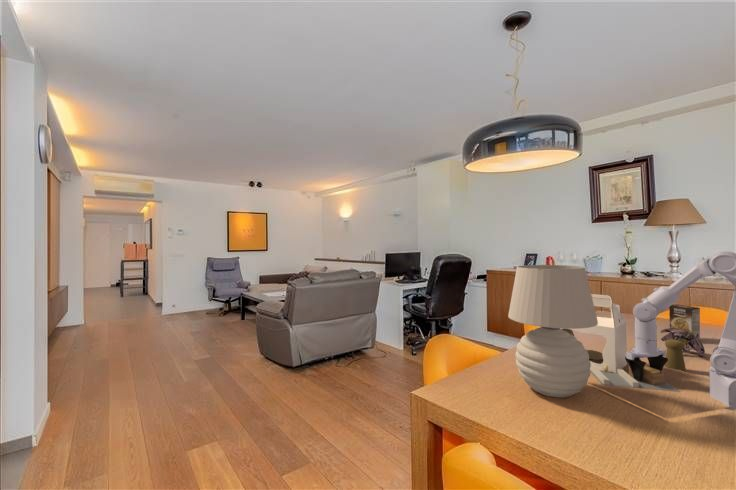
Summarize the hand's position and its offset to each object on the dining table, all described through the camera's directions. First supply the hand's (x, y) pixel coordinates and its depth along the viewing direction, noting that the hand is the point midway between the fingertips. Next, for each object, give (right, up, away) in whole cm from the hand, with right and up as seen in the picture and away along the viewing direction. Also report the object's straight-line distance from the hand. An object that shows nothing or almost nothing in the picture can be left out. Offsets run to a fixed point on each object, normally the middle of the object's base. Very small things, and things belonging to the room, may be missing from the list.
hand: (646, 378), depth 111 cm
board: (-5, -2, +1) cm, 5 cm away
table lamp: (-34, -2, -4) cm, 35 cm away
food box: (+58, -1, +47) cm, 75 cm away
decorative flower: (+38, -1, +27) cm, 47 cm away
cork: (+20, -1, +11) cm, 22 cm away
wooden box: (0, 0, 0) cm, 0 cm away
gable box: (-7, -2, +19) cm, 20 cm away
